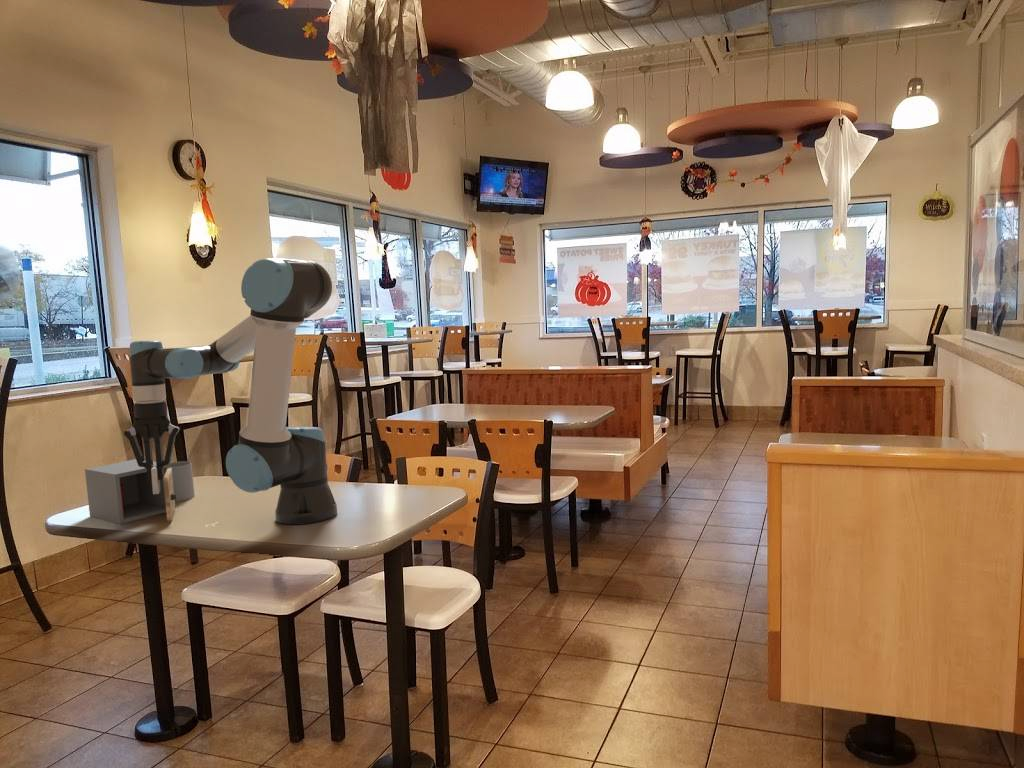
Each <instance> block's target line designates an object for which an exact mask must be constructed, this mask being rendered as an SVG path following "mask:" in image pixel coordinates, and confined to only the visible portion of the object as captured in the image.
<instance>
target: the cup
mask: <svg viewBox="0 0 1024 768" xmlns="http://www.w3.org/2000/svg"><path fill="white" fill-rule="evenodd" d="M192 464H193V463H192V462H191V461H174V462H170V463H169V464H168V468H172V474H173V485H174V494H175V493H176V497H177V499H176V500H175V503H176V502H184V501H188V500H190V499H193V498H194V497H195V495H196V494H195V486H194V474H193V466H192Z"/></svg>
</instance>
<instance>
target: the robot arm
mask: <svg viewBox="0 0 1024 768" xmlns="http://www.w3.org/2000/svg"><path fill="white" fill-rule="evenodd" d="M240 289H241V290H240V291H241V295H242V296H241V297H242V298H244V303H245V304H246V306H247V307H248V308H249V309H250V313H249V316H248V317H247V316H246V318H245V319H243V320H242V321H240V322H239V323H237V324H236V325H235V326H234V327H232V328H231V329H230V330H228V331H227V332H225V333H224V334H223V335H221V336H220V337H219V338H218V339H216V340H214V341H213V342H212V343H210V344H208V345H197V346H184V347H168V348H164V346H163V343H162V341H161V340H138V341H137V340H136V341H132V342H130V343H129V366H130V377H131V383H132V384H131V388H132V401H133V402H135V403H134V404H133V413H134V414H133V416H134V422H133V423H132V427H130V428H129V429H126V430H125V431H123V435H124V436H125V438H126V439H128V441H129V445H130V446H131V449H132V452H133V455H134V458H135V459H136V461H137V463H138V466H139V467H144V468H146V469H147V479H148V481H152V487H153V494H159V493H160V492H161V490H160V480H163V477H164V471H163V467H164V466H165V465H168V464H169V463H172V462H171V461H172V455H173V452H174V448H175V447H174V446H175V443H176V436H177V435H178V433H179V431H180V429H181V428H180V427H179V426H175V425H173V424H172V423H171V421H170V420H169V417H168V405H167V404H168V403H167V402H166V401H165V400H166V399H167V395H166V394H167V392H166V379H179V380H186V379H193V378H196V377H198V376H199V377H200V376H205V375H206V376H207V375H215V374H225V373H226V374H227V373H229V372H234V371H235V370H237V369H238V368H239V365H240V364H241V362H242V361H241V360H242V359H243V358H245V357H246V356H247V355H249V354H250V353H252V352H253V357H252V358H253V359H252V370H251V379H250V390H249V401H248V402H249V403H248V413H247V422H246V423H247V424H246V425H245V426H244V427H243V428H241V429H240V430H239V434H238V443H237V444H235V445H233V446H232V447H231V448H230V449H229V450H228V452H227V454H226V457H225V468H226V472H227V474H228V476H229V479H230V480H231V481H232V483H233V484H234V485H235V486H236V487H237V488H238V489H239V490H241V491H243V492H245V493H250V494H251V493H258V492H259V493H260V492H264V491H269V490H270V489H272V488H274V487H279V486H280V490H279V495H278V499H277V504H276V508H275V513H274V514H275V521H276V522H277V523H279V524H284V525H306V524H307V525H308V524H313V523H318V522H322V521H325V520H328V519H331V518H334V517H335V516H336V515H337V514H338V506H337V505H338V504H337V502H336V501H335V498H334V495H333V493H332V490H331V488H330V485H329V481H328V478H329V477H328V466H327V464H328V462H327V451H326V444H327V443H326V439H325V432H324V430H323V429H322V428H320V427H316V426H287V417H288V409H289V408H288V407H289V401H290V400H289V398H290V390H291V381H292V371H293V362H294V353H295V352H294V351H295V349H294V348H295V343H296V341H295V340H296V331H297V329H298V327H300V325H302V324H303V323H304V322H305V320H306V319H308V318H309V317H311V316H312V315H314V314H315V313H317V312H318V311H320V310H321V309H322V308H323V307H324V306H325V305H327V304H328V302H329V300H330V299H331V296H332V292H333V281H332V278H331V276H330V274H329V272H328V271H327V270H326V269H325V267H323V266H322V265H321V264H320V263H317V262H315V261H313V260H309V259H292V258H291V259H289V258H281V257H272V258H268V257H267V258H261V259H259V260H255V262H253V263H252V264H251V265H250V266H249V267H247V269H246V270H245V271H244V274H243V277H242V280H241V286H240ZM167 430H168V433H169V435H168V440H167V445H166V451H165V456H164V453H163V451H164V450H163V435H164V434H165V433H166V431H167ZM137 433H138V434H139V435H140V437H142V439H143V444H144V446H143V447H144V455H145V456H144V455H143V451H142V449H141V446H140V445H139V441H138V438H137V436H136V434H137ZM152 438H153V440H154V441H153V442H154V448H155V449H154V450H155V451H154V452H155V462H156V467H153V465H154V464H153V462H154V459H153V458H154V456H153V447H152V446H153V445H152ZM145 460H146V462H145Z"/></svg>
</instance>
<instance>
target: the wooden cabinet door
mask: <svg viewBox="0 0 1024 768" xmlns="http://www.w3.org/2000/svg"><path fill="white" fill-rule="evenodd" d="M163 482H164V492H165V502H166V512H165V514H166V520H167V521H168V522H170V521H172V520H173V517H174V513H175V510H176V502H175V500H176V499H177V497H176V493H175V494H174V485H173V474H172V468H167V471H166V473H165V475H164V477H163Z"/></svg>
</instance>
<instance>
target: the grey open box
mask: <svg viewBox="0 0 1024 768" xmlns="http://www.w3.org/2000/svg"><path fill="white" fill-rule="evenodd" d="M144 460H145V459H144ZM145 462H146V460H145ZM153 464H154V465H153V467H156V461H153ZM167 468H168V465H165V466H164V467H163V471H164V475H165V473H166V471H167ZM84 474H85V484H86V491H87V503H88V511H89V517H90V518H94V519H98V520H102V521H106V522H108V523H109V522H110V523H114V524H118V525H123V524H127V523H131V522H135V521H139V520H141V519H142V520H143V519H146V518H149V517H153V516H157V515H161V514H166V502H165V492H164V482H163V480H160V490H161V492H160V493H159V494H153V487H152V481H148V479H147V469H146V468H144V467H139V466H138V463H137V461H136V458H135V459H130V460H126V461H120V462H114V463H110V464H104V465H99V466H94V467H89V468H84Z"/></svg>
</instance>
